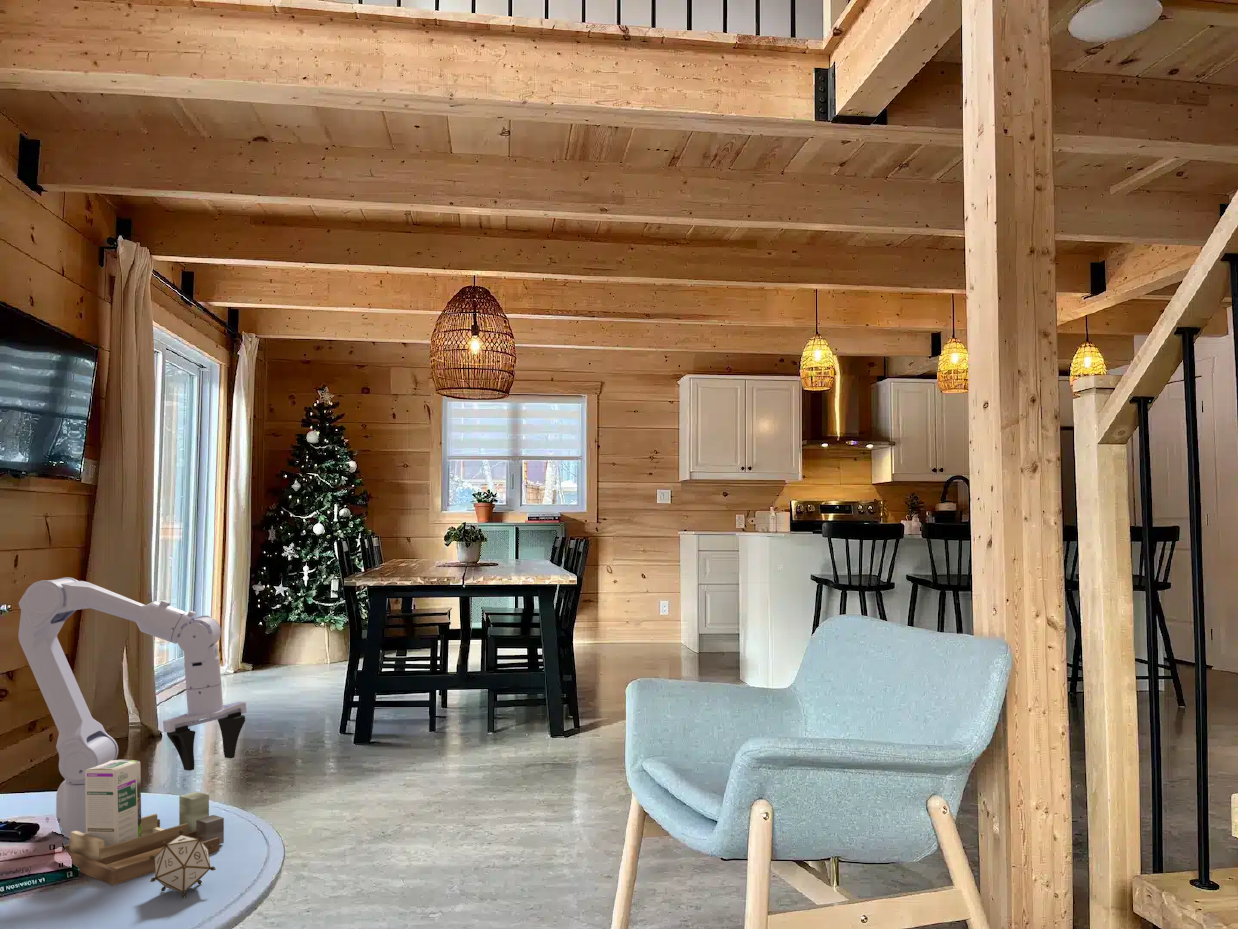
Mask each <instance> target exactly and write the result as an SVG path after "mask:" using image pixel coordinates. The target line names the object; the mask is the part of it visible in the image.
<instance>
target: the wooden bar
mask: <svg viewBox="0 0 1238 929" xmlns="http://www.w3.org/2000/svg"><path fill="white" fill-rule="evenodd" d="M224 820H225V818H224V817H222V816H219V815H216V814H211V815H209V816H208V817H204V818H201V819H198V820H196V838H197V839H199V837H200V835H203V838H202V839H201V841H202V842H203V841H207V840H210V839H213V838H216V837H218V838H219V845H222V844H224V843H225V836H224V835H225V833H224V832H225V828H224V827H225V826H224V825H225V823H224V822H225V821H224ZM162 848H163V847H162ZM162 848H158V849H155V850H152V851H149V852H145V853H142V854H139V855H136V856H132V857H129V858H126V859H123V860H119V861H116V862H113V863H110V864H107V865H108V866H110V867H113V868H115V869H118V868H121V867H124V866H127V865H131V864H134V863H137V862H140V861H143V860H146V859H150V858H149V857H150V856H151V855H152V856H154V857H155V856H156V855H157V854H158V853H159V852H160V851H161V850H162Z"/></svg>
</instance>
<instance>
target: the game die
mask: <svg viewBox="0 0 1238 929" xmlns="http://www.w3.org/2000/svg"><path fill="white" fill-rule="evenodd" d="M179 834H180V835H179V836H178V837H176V838H175V839H174V840H172V841H171V842H169V843H168V844H167V842H166V841H162V845H163V846H164V847H163V848H162V850H161V851H160V852H159V853H158V854H157V855H156V856H155V857H154V856H152V855H151V856H150V857H149V858H150V860H151V859H152V860H153V859H154V865H155V872H154V877H152V878H151V879H150V880H149V882H151V883H153V882H155V881H158V882H159V884H160V885H161V886H162V887H161V890H160V891H161V893H162V892H164V891H166V890H167V889H169V890H173V891H175V892H176V891H177V892H179V893H181V898H184V897H185V898H186V896H187V895H186V891H188V890H189V889H190V888H192V887H193V886H194V885H195V884H197V885H202V884H203V882H202V880H201V879H202V878H203V877H204V876H205V875H206V874H207V873H208V872H209V870H210V871H215V870H217V868H216V867H215V866H211V862H210V854H209V853H208V850H210V849H212V846H211V845H210V846H208V848H207V847H206V846H205V845H204V844H203V842H202V841H201V839H202V838H203V835H200V837H199V839H197V838H193V837H189V836H185V835H182V834H183V831H182V830H181V829H180V831H179ZM201 883H202V884H201ZM185 898H184V899H185Z"/></svg>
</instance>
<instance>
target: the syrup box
mask: <svg viewBox="0 0 1238 929" xmlns="http://www.w3.org/2000/svg"><path fill="white" fill-rule="evenodd" d="M141 776H142V775H141V761H140V760H136V759H134V760H133V759H116V760H111V761H109V762H107V763H104V764H101V765H99V766H96V767H93V768H90V769H87V770H85V812H86V834H87V835H90V836H93V837H96V838H99V839H101V840H104V847H107V846H110V845H114V844H117V843H120V842H124V841H127V840H131V839H134V838H137V837H141V836H142V833H141V818H142V789H141V788H142V783H141V782H142V781H141V780H142V778H141Z"/></svg>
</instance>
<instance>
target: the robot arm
mask: <svg viewBox="0 0 1238 929" xmlns="http://www.w3.org/2000/svg"><path fill="white" fill-rule="evenodd" d="M18 606H19V609H20V618H19V626H18V634H17V635H18V636H17V637H18V643H19V645H20V646H21V648H22V651H23V654H24V655H25V658H26V660H27V662H28V665H29V668H30V670H31V671H32V673H33V674H32V675H33V676H34V678H35V680H36V683H37V686H38V687H39V689H40V693H41V694H42V697H43V699H44V702H45V703H46V706H47V708H48V710H49V713H50V715H51V718H52V719H53V723H54V724H55V727H56V729H57V731H58V737H57V741H56V744H55V748H56V751H57V752H58V753H57V754H58V758H59V759H58V771H59V773H60V775H61V776H62V778H63V779H64V780H63V781H62V782H61V783H60V784H59V786H58V788H57V791H56V796H55V797H56V800H55V805H56V807H55V810H56V812H55V813H56V814H55V816H56V817H55V818H57V821H58V823H59V826H60V827H61V828H62V834H64V835H65V836H64V838H67V839H69V838H70V837H71V832H73V831H79V832H82V833H86V812H85V770H87V769H90V768H93V767H96V766H99V765H101V764H104V763H107V762H109V761H111V760H117V759H118V755H119V746H118V743H117V741H116V740H115V739H114V737H112V736H111V735H109V734H108V733H107V731H106V730H105V728H104V726H103V724H102V723H101V722H99V721H97V720H96V719H95V718H93V716H92V714H91V712H90V709H89V707H88V705H87V703H86V700H85V698H84V696H83V693H82V692H81V689H80V687H79V684H78V682H77V679H76V677H75V675H74V673H73V670H72V668H71V666H70V664H69V662H68V659H67V656H66V654H65V652H64V650H63V647H62V645H61V643H60V641H59V638H58V634H59V633H60V631H61V629H62V628H63V626H64V624H65V622H66V620H67V619H69V618H70V617H71V616H72V615H73V614H74V613H75V612H76V611H77V610H78V611H79V610H86V609H93V610H95V611H99V612H102V613H105V614H109V615H112V616H115V617H118V618H122V619H125V620H128V621H131V622H133V623H135V624H136V625H137V627H138V630H139V631H140V632H141V633H144V634H147V635H150V636H152V637H155V638H158V639H161V640H164V641H167V642H169V643H172V644H174V645H175V644H176V645H177V644H178V647H179V648H180V649H181V650H182V651H183V656H184V657H183V660H184V663H183V664H184V665H183V666H184V678H185V691H186V692H185V693H186V705H187V713H184V714H183V713H182V714H181V715H178V716H174V717H172V718H168V719H164V720H163V721H162V724H163V732H164V733H166V735H167V737H168V739H169V741H170V742H171V743H172V744H173V746H174V748H175V749H176V751H177V754H178V755H179V758H180V760H181V763H182V766H183V770H184V771H194V770H195V755H194V754H195V753H194V752H195V751H194V744H195V737H196V731H195V730H191V727H192V726H197V725H200V724H201V725H202V724H204V723H208V722H212V721H213V722H214V721H216V720H217V722H218V725H219V729H220V734H221V738H222V749H223V750H222V751H223V756H224V759H225V758H226V759H233V758H235V756H236V749H237V746H238V745H237V744H238V741H239V736H240V734H241V730H242V728H243V726H244V724H245V722H246V715H244V714H247V702H246V701H238V702H233V703H232V702H231V703H228V704H224V702H223V701H224V700H223V689H222V676H221V665H220V664H221V662H220V656H219V643H218V642H219V641H220V639H221V635H222V628H221V625H220V624H219V622H218V621H217V620H216V619H214V618H212V617H211V616H209V615H199V616H196V615H197V612H196V611H194V610H189V611H185V610H182V609H180V608H176V607H174V606H171V602H170V601H168V600H161V601H160V602H159V601H157V600H154V601H152V602H150V603H147V604H144V603H142V602H138V601H136V600H133V599H131V598H129V597H127V596H124V595H122V594H119V593H116V592H113V591H112V590H110V589H106V588H104V587H101V586H99V585H96V584H94V583H93V582H92V583H91V582H88V581H84V580H77V579H76V578H74V577H69V576H67V577H65V576H64V577H60V578H57V579H48V580H38V581H35V582H34V583H31V585H29V586H28V587H27V589H26V590H25V592H24V593H23V594H22V597H21V599H20V600H19V602H18ZM189 727H190V728H189Z"/></svg>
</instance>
